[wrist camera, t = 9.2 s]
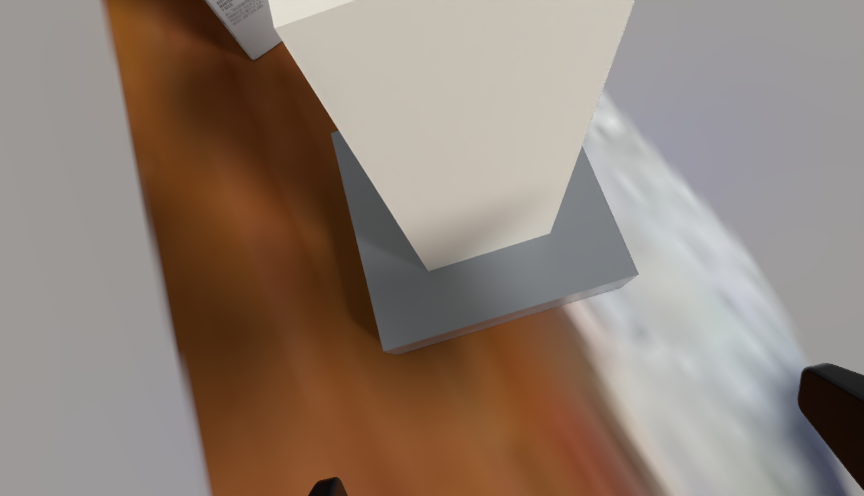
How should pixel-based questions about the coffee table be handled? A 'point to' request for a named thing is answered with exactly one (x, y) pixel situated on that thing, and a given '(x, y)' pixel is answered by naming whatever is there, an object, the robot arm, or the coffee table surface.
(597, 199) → the plinth
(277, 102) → the coffee table surface
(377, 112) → the post
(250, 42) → the coffee box
